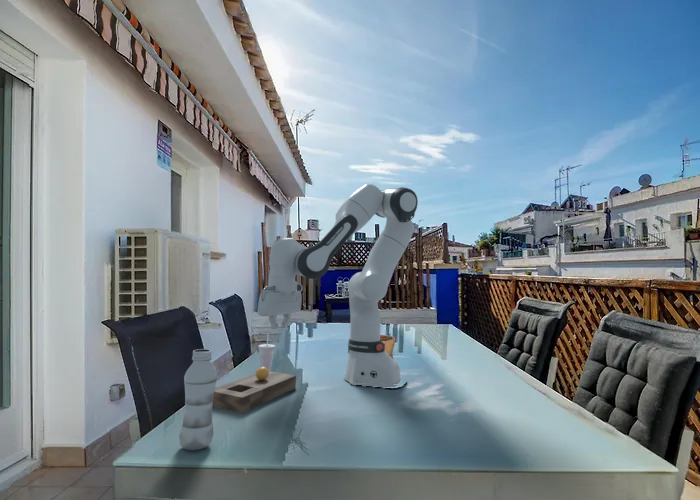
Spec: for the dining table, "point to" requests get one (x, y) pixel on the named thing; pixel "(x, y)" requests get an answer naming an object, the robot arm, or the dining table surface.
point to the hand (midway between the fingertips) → (279, 327)
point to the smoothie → (266, 354)
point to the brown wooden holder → (252, 391)
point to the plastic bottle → (198, 402)
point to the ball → (262, 373)
